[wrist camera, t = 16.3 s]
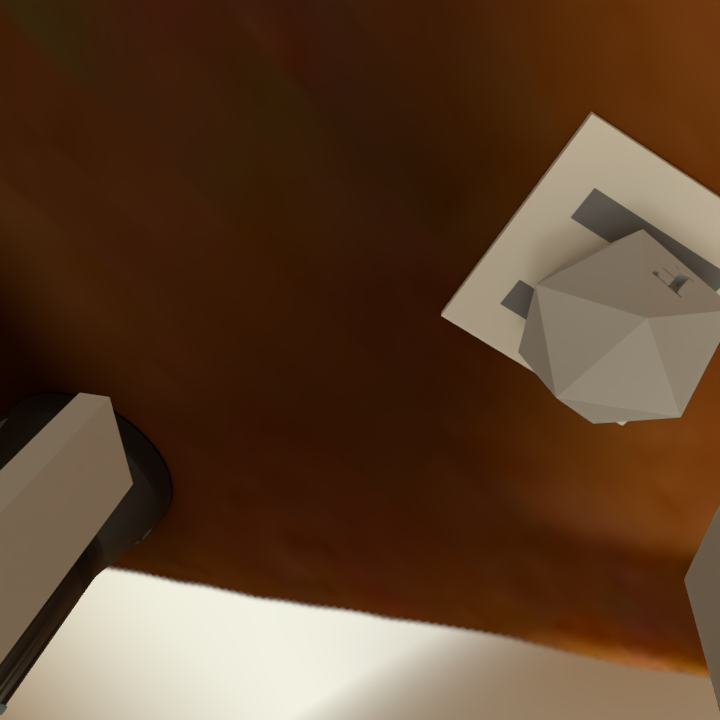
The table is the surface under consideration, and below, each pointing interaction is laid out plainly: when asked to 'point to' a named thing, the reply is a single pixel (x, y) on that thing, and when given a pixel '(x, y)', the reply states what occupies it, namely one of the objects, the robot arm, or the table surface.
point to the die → (622, 332)
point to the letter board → (586, 228)
